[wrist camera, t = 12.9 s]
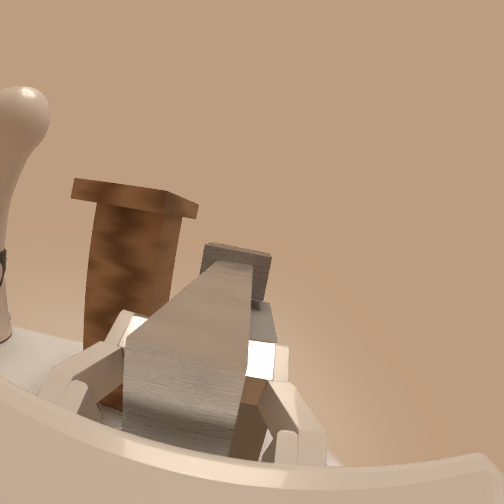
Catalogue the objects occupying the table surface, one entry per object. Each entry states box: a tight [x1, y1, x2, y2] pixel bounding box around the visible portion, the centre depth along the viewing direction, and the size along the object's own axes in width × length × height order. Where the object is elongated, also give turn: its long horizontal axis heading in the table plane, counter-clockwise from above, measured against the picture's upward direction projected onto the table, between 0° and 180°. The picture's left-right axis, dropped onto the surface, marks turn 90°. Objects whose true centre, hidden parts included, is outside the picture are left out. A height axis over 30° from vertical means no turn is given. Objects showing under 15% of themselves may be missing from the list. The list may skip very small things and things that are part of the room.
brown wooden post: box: [71, 178, 199, 411], centre depth 35 cm, size 10×16×26 cm, turn 0°
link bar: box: [123, 242, 272, 457], centre depth 20 cm, size 6×26×4 cm, turn 0°
